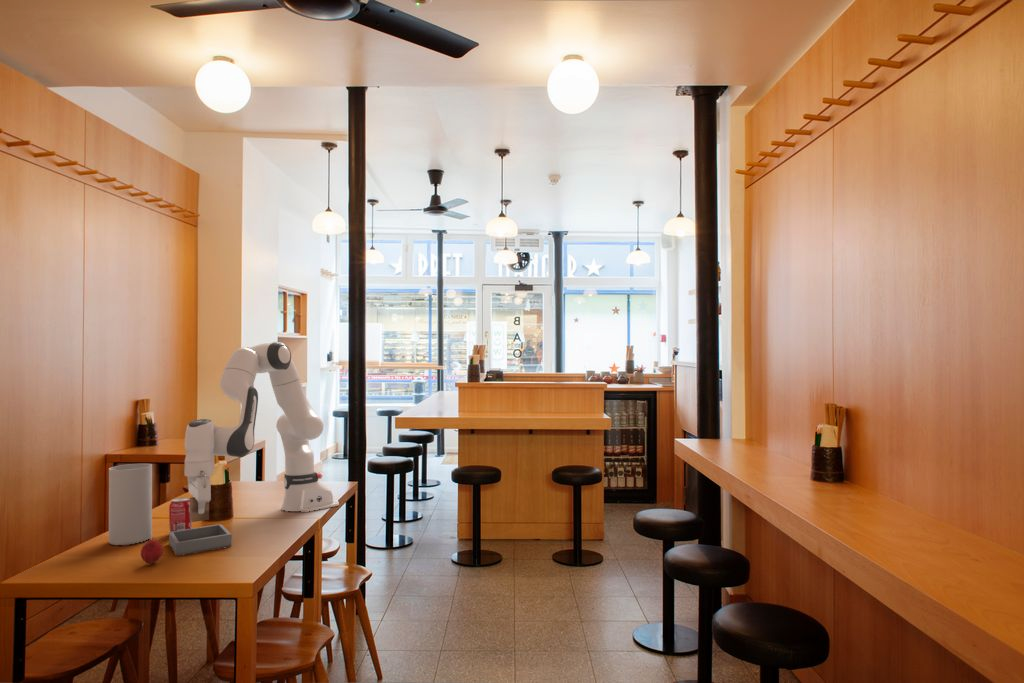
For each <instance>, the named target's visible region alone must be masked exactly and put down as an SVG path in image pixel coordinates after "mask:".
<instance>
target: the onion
mask: <svg viewBox="0 0 1024 683" xmlns="http://www.w3.org/2000/svg"><path fill="white" fill-rule="evenodd" d="M163 553H164V547H163V545H162V543H161V542H160V541H158V540H156V539H155V537H154V536H152V537H151V538H150V539H149V540H147V541H146V542H145V544H144V545H143V546H142V548H141V550H140V557H141V559H142V561H144V562H145V563H147V564H149V565H154V564H155V563H156V562H157V561H158V560H159V559H160V558H162V556H163ZM153 563H154V564H153Z"/></svg>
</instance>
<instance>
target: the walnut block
mask: <svg viewBox="0 0 1024 683" xmlns="http://www.w3.org/2000/svg"><path fill="white" fill-rule="evenodd" d="M189 498H190V520H191V522H192V523H195V522H203V521H209V520H210V501H209V502H206V504H205V510H204V513H203V514H199V513H198V501H197V500H196V499H195V498H194V497H193V496H191V497H189Z"/></svg>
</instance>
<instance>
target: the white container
mask: <svg viewBox="0 0 1024 683" xmlns="http://www.w3.org/2000/svg"><path fill="white" fill-rule="evenodd" d="M151 537H153V464H152V463H132V464H131V463H130V464H129V463H128V464H121V465H116V466H112V467H109V468H108V543H109V544H110V545H112V546H118V545H122V546H130V544H132V545H136V544H135V543H137V544H140V543H139V542H141V543H144V542H147V541H149V540H150V538H151ZM148 539H149V540H148ZM146 540H147V541H146ZM143 541H144V542H143Z"/></svg>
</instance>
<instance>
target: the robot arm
mask: <svg viewBox="0 0 1024 683" xmlns="http://www.w3.org/2000/svg"><path fill="white" fill-rule="evenodd" d="M265 373H266V374H267V373H268V375H269V380H270V384H271V387H272V390H273V393H274V397H275V400H276V402H277V405H278V406H279V407H280V408H281V410H282V411H283V412H284V413H283V414H281V415H279V417H278V419H277V421H276V423H275V424H276V426H275V427H276V430H277V432H278V434H279V436H280V438H281V442H282V446H283V451H284V455H285V456H284V457H285V458H284V459H285V462H284V464H285V473H284V477H283V478H284V479H283V486H284V496H283V501H282V504H281V505H282V506H281V508H280V509H282V510H281V511H283V510H285V511H284V512H288V511H301V512H300V513H309V511H310V512H314V510H315V511H318V510H319V509H320V510H325V509H328V508H333V507H337V506H339V505H340V503H339V501H338V499H334V494H333V491H332V489H331V488H330V487H328V486H327V485H325V484H324V483H322V482H321V481H320V480H321V479H322V478H323V474H322V473H320V472H319V473H318V472H315V470H314V469H315V466H314V465H315V462H314V461H315V459H314V458H315V455H314V454H315V453H314V451H313V449H312V448H311V445H310V442H309V441H313V440H315V439H318V438H319V437H320V436H321V435H322V433H323V431H324V423H323V421H322V419H321V418H320V417H319V416H318V415H317V414H316V411H314V409H313V407H312V405H311V404H310V402H309V399H308V398H307V396H306V394H305V390H304V387H303V383H302V380H301V377H300V374H299V372H298V369H297V366H296V364H295V363H294V360H293V359H292V352H291V350H290V348H289V347H288V345H287V344H286V343H284V342H279V341H274V342H268V343H260V344H257V345H254V346H250V347H240V348H237V349H235V350H234V351H233V352H232V354H231V356H230V357H229V358H228V361H227V362H226V364H225V367H224V370H223V371H222V374H221V377H220V381H219V387H220V389H221V391H222V393H223V394H224V395H225V396H226V397H228V398H229V399H231V400H232V401H236V402H238V403H240V404H241V408H240V415H239V421H238V424H237V425H236V426H234V427H222V426H217V425H215V424H214V423H213V420H212V419H208V418H207V419H206V418H203V419H195V420H191V421H190V422H189V423H188V424H187V426H186V430H185V435H184V450H185V458H184V477H186V479H187V488H188V493H189V494H190V495H191V497H194V498H195V499H196V500H197V501H198V513H199V514H203V513H204V510H205V504H206V502H209V503H210V502H211V500H212V492H211V490H212V488H211V475H214V474H215V456H218V457H219V456H220V457H223V456H224V457H225V456H226V457H229V456H230V457H235V458H236V457H237V458H243V457H245V456H247V455H248V454H249V453H250V452H251V451H252V450H253V448H254V445H255V428H256V427H255V426H256V419H257V414H258V413H257V411H258V404H259V392H258V390H257V389H256V388H255V387H254V385H255V384H254V383H255V379H256V376H257V374H265Z"/></svg>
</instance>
